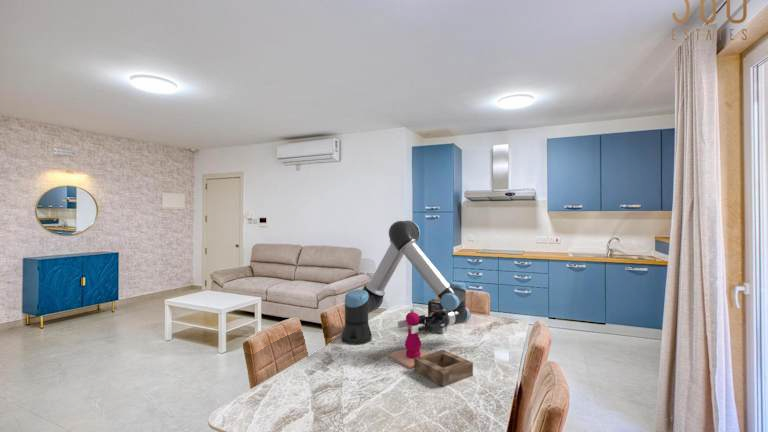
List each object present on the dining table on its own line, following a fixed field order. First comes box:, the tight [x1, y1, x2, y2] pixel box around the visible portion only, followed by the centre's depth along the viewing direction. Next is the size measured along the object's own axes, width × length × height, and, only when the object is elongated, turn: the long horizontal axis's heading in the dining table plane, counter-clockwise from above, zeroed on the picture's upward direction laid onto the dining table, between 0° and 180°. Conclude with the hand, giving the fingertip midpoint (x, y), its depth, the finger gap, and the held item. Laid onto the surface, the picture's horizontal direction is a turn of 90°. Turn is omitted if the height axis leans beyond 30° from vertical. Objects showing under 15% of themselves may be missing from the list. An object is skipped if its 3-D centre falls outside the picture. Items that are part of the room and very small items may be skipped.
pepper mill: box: [404, 308, 422, 358], centre depth 152 cm, size 7×7×20 cm
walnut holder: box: [413, 349, 474, 388], centre depth 137 cm, size 16×16×5 cm
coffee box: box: [427, 298, 448, 335], centre depth 188 cm, size 9×6×16 cm
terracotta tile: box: [386, 348, 431, 370], centre depth 152 cm, size 16×16×1 cm
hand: (404, 327), depth 149 cm, fingers open, 8 cm apart
